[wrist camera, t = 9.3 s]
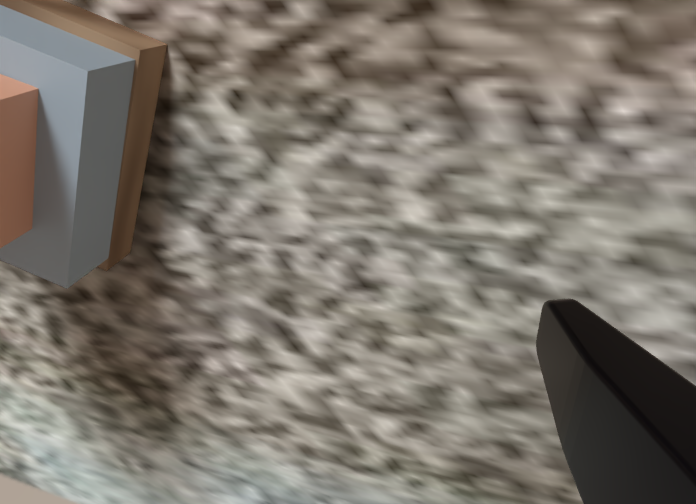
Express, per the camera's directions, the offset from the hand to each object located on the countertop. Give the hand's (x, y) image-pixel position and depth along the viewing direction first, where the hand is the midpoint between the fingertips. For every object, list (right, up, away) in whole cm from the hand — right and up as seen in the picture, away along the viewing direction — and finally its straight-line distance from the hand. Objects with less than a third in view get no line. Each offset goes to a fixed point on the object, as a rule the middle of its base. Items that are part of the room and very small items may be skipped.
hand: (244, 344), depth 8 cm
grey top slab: (-10, +6, +12) cm, 17 cm away
